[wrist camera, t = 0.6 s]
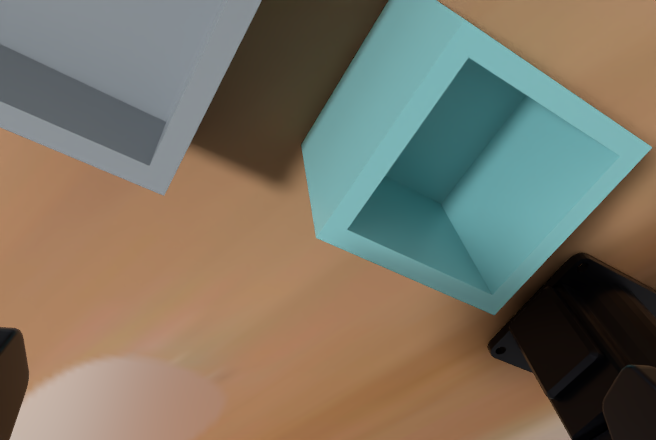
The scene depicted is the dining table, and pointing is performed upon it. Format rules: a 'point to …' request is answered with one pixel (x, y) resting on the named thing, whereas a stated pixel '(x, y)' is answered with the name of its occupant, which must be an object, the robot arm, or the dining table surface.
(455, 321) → the dining table surface
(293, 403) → the dining table surface
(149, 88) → the big crate
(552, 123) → the small crate
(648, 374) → the robot arm
